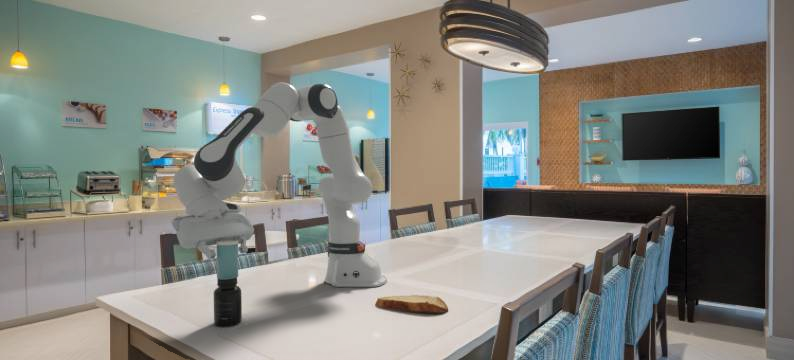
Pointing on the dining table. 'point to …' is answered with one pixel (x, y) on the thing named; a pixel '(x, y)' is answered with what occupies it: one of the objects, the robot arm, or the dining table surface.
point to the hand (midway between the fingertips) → (229, 254)
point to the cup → (227, 259)
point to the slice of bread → (413, 304)
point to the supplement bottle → (227, 303)
